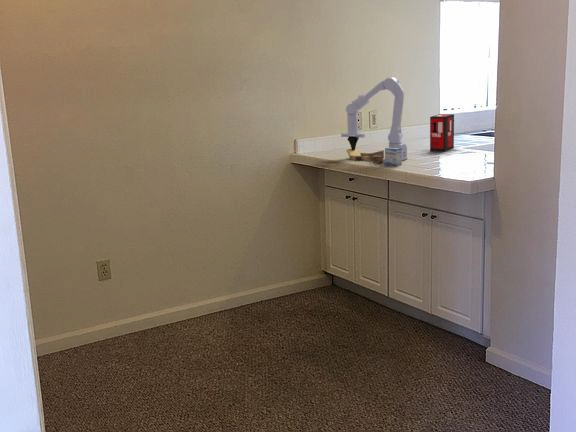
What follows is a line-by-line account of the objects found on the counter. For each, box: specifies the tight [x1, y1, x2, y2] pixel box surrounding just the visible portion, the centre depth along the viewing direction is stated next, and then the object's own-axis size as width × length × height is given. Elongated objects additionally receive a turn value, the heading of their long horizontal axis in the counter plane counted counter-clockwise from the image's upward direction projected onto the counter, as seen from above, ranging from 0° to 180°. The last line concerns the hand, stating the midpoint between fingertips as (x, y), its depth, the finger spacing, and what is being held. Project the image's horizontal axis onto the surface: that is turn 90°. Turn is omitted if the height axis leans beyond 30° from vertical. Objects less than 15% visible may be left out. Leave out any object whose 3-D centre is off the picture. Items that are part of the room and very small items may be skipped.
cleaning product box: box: [429, 113, 455, 153], centre depth 377 cm, size 16×9×20 cm, turn 148°
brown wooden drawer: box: [349, 149, 385, 162], centre depth 352 cm, size 15×14×5 cm
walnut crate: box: [372, 155, 384, 165], centre depth 340 cm, size 4×4×4 cm
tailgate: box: [346, 146, 362, 158], centre depth 357 cm, size 1×10×6 cm
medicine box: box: [384, 147, 403, 167], centre depth 332 cm, size 8×4×9 cm, turn 44°
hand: (353, 150), depth 357 cm, fingers closed, pressing on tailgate
